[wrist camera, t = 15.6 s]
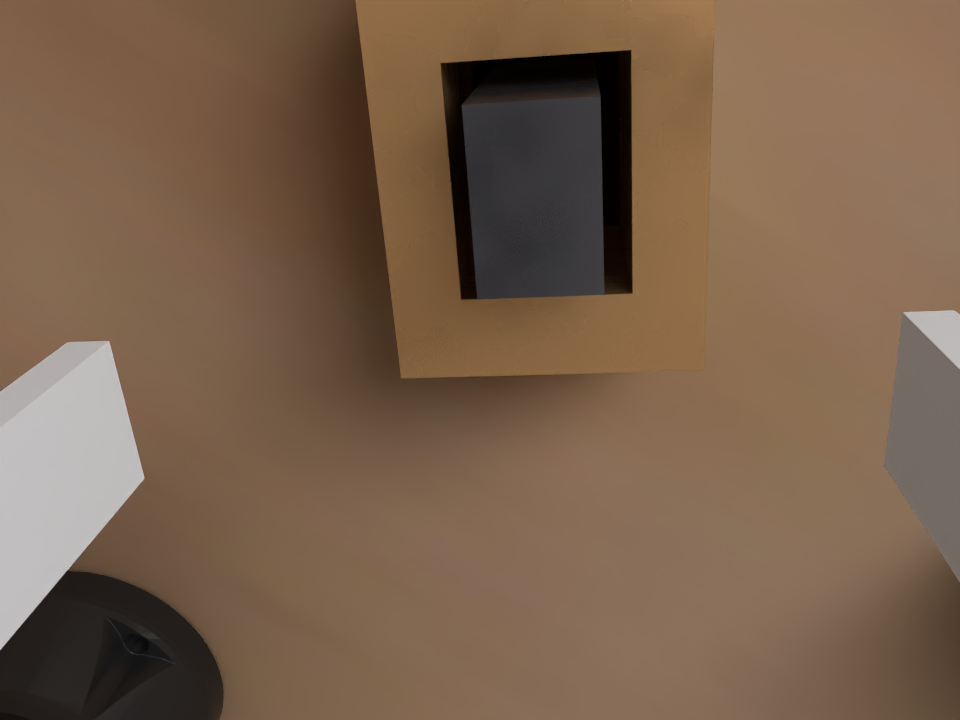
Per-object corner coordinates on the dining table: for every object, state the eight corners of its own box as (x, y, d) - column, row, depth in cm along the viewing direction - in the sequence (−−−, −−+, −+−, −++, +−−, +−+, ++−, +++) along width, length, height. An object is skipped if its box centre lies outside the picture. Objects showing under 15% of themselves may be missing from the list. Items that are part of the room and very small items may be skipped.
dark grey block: (505, 206, 39) (477, 299, 28) (496, 64, 37) (461, 104, 26) (596, 202, 38) (604, 294, 27) (593, 57, 36) (600, 96, 25)
